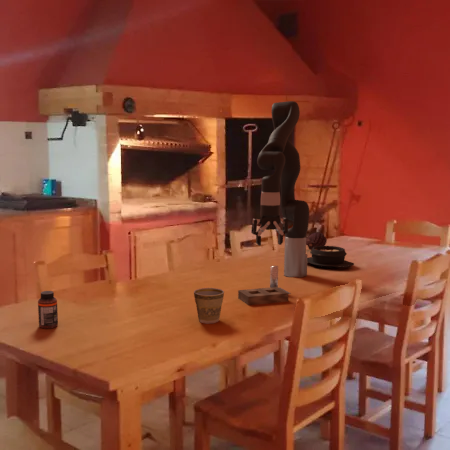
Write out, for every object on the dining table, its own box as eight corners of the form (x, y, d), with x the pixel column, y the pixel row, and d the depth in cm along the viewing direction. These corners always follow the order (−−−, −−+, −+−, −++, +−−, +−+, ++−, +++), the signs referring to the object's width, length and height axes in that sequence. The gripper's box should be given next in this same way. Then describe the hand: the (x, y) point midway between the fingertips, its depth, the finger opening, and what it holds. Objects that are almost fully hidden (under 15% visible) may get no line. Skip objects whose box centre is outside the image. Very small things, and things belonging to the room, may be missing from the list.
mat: (279, 288, 256) (279, 287, 256) (290, 294, 246) (290, 293, 246) (257, 290, 252) (257, 289, 252) (267, 296, 243) (267, 295, 243)
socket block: (276, 295, 244) (277, 286, 244) (288, 302, 235) (288, 293, 235) (238, 299, 239) (238, 290, 238) (248, 306, 230) (248, 296, 229)
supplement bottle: (40, 323, 207) (39, 289, 205) (59, 323, 208) (58, 289, 206) (37, 329, 201) (35, 294, 200) (56, 329, 202) (55, 294, 200)
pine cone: (318, 247, 346) (319, 229, 344) (334, 249, 339) (334, 231, 338) (299, 251, 333) (299, 232, 331) (314, 254, 326) (315, 235, 325)
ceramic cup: (213, 327, 205) (213, 297, 204) (187, 322, 210) (187, 292, 209) (233, 317, 216) (234, 288, 214) (209, 312, 221) (209, 284, 220)
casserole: (294, 265, 300) (295, 247, 299) (315, 259, 314) (316, 242, 313) (341, 273, 284) (342, 254, 283) (361, 266, 298) (362, 249, 297)
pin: (275, 290, 251) (276, 265, 250) (278, 292, 248) (279, 267, 247) (268, 290, 250) (269, 265, 249) (271, 292, 247) (272, 267, 246)
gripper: (283, 202, 251) (282, 242, 253) (249, 202, 247) (249, 243, 249) (291, 204, 243) (290, 245, 246) (256, 205, 239) (255, 247, 242)
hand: (269, 244), depth 247 cm, fingers open, 8 cm apart
